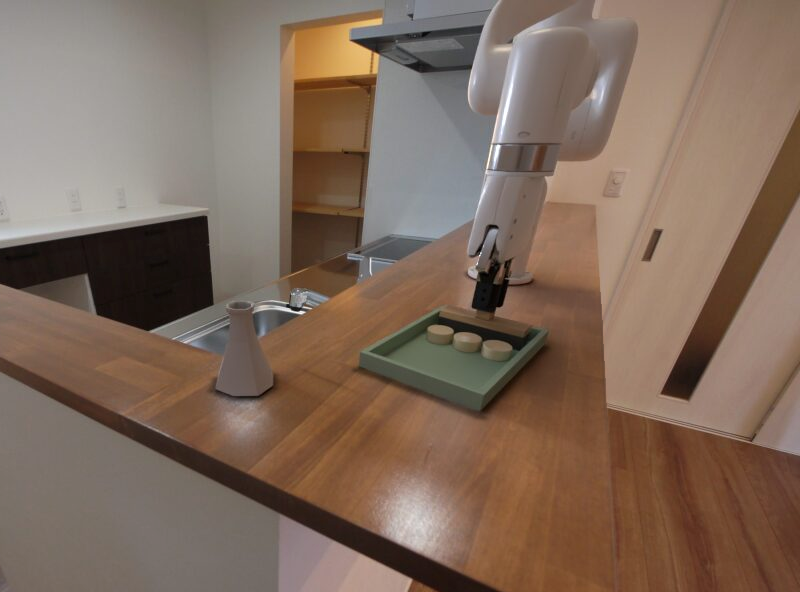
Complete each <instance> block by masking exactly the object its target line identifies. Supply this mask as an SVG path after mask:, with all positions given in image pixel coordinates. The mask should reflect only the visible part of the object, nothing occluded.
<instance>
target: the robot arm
mask: <svg viewBox="0 0 800 592" xmlns="http://www.w3.org/2000/svg"><path fill="white" fill-rule="evenodd" d="M595 4H596V0H498V1H497V2H496V3H495V5H494V6H493V8H492V9H491V10H490V12H489V14H488V16H487V18H486V20H485V23H484V25H483V27H482V30H481V33H480V37H479V40H478V44H477V48H476V51H475V55H474V58H473V59H474V60H473V64H472V68H471V71H470V75H469V81H468V87H467V100H468V101H467V102H468V104H469V107H470V109H471V110H472V111H473V112H474V113H475V114H477V115H479V116H490V117H491V116H493V117H494V116H496V119H495V125H494V128H493V129H494V130H493V134H492V139H491V144H490V149H489V153H488V159H487V163H486V169H485V173H484V174H485V175H487V177H486V179H485V183H484V186H483V188H482V192H481V194H480V198H479V201H478V205H477V209H476V213H475V216H474V219H473V223H472V228H471V232H470V236H469V240H468V244H467V248H466V249H467V250H466V255H467V257H468V258H470V259H474V258H477V257H478V259H477V262H476V264H474V265H471V266H469V268H468V270H467V275H468V276H469V277H471V278H472V279H475V280H476V283H475V286H474V287H475V288H474V291H473V292H474V293H473V296H472V301H471V308H472V309H473V310H481V311H485V312H489V313H493V312H495V313H496V311H497V308H498V309H499V308H500V309H501V308H502V307H504V304H505V299H506V296H507V292H508V288H509V285H523V284H528V283H530V282H531V281H532V279H533V276H534V275H533V273H532V272H531V271H529V270H527V267H528V263H529V259H530V257H531V252H532V248H533V246H534V241H535V238H536V234H537V230H538V227H539V223H540V220H541V216H542V212H543V208H544V204H545V201H546V197H547V194H548V181H547V179H546V177H553V176H554V175H555V171H556V168H557V164H558V162H568V163H569V162H570V163H573V162H577V163H578V162H590V161H592V160H594V159H596V158H598V157H599V156H600V155H601V154H602V153H603V151H604V150H605V147H606V146H607V144H608V142H609V139H610V136H611V133H612V130H613V127H614V124H615V121H616V118H617V114H618V111H619V108H620V105H621V100H622V98H623V94H624V92H625V88H626V85H627V82H628V78H629V75H630V72H631V68H632V65H633V62H634V58H635V54H636V51H637V46H638V42H639V41H638V40H639V25H638V23H637V22H636V20H634V19H633V18H631V17H627V16H614V17H612V16H611V17H603V18H593V12H594V8H595ZM530 28H531V31H527V32H526V33H523V34H521V33H522V32H524V31H526V30H527V29H530ZM519 34H521V35H520V36H519V37H518V38H517V39H516V40H515V41H514V42H512V43H511V42H510V41H511V40H513V39H514V38H515V37H516V36H517V35H519ZM509 42H510V43H509ZM589 96H590V98H588V97H589ZM495 266H496V267H497V268H496V269H495ZM503 268H506V271H505V275H504V279H503V283H502V284H499V283H500V280H501V276H502V272H503Z"/></svg>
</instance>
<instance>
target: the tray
mask: <svg viewBox="0 0 800 592" xmlns="http://www.w3.org/2000/svg"><path fill="white" fill-rule="evenodd" d="M447 306H448V305H445V304H443V305H441V306H440V307H437V308H435V309H434V310H432V311H430V312H429V313H427V314H425V315H423V316H422V317H420V318H418V319H416V320H414V321H413V322H410V323H409V324H407V325H406V326H403V327H402V328H400V329H397V331H394V332H393V333H391V334H389V335H387V336H385V337H384V338H382V339H380V340H379V341H377V342H375V343H373V344H371V345H369V346H368V347H366V348H364V349H362V350H360V351H359V359H358V360H359V361H358V367H360V368H363V369H365V370H367V371H371V372H374V373H376V374H378V375H381V376H384V377H386V378H389V379H392V380H394V381H398V382H400V383H403V384H405V385H408V386H410V387H413V388H416V389H418V390H422V391H425V392H427V393H429V394H432V395H434V396H437V397H440V398H443V399H445V400H448V401H451V402H453V403H456V404H458V405H462V406H465V407H467V408H469V409H472V410H474V411H477V412H481V411H482V410H483V409H484V408H485V407H486V406H487V405H488V404H489V402H491V400H493V398H494V397H495V396H497V394H498V393H499V392H500V391H501V390H502V389H503V388H504V387H505V386H506V385H507V384H508V383H509V382H510V381H511V380H512V379H513V378H514V377H515V376H516V375H517V374H518V372H519V371H520V370H521V369H522V368H523V367H524V366H526V364H527V363H528V362H529V361H530V360H531V359H532V358H533V357H534V356H535V355H536V354H537V353H538V351H540V350H541V348H542V347H544V346H545V344H546V342H547V340H548V337H549V333H550V330H549V329H546V328H542V327H537V326H533V325H532V328H531V331H530V335H529V338H528V341H527V344H526V345H525V346H524V347H523V348H522V349H521V350H520V351H517V350H513V349H512V352H511V356H510V358H509V360H506V361H494V360H490V359H487V358H485V357H483V356H482V355H481V350H482V345H483V343H484V341H482V342H481V346H480V349H479V351H477V352H463V351H459V350H457V349H455V348H454V347H453V346H452V344H453V339H454V335H455V333H453V338H452V342H451V343H448V344H436V343H432V342H430V341H428V340H427V339H426V334H427V329H428V327H429V326H432V325H438V321H439V316H440V310H442V309H444V308H445V307H447Z"/></svg>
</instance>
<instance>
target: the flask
mask: <svg viewBox="0 0 800 592" xmlns="http://www.w3.org/2000/svg"><path fill="white" fill-rule="evenodd" d="M254 310H255V302H254V301H253V302H252V301H250V300H233V301H230V302H228V303H226V306H225V311H226V313H228V318H229V320H228V321H229V328H228V336H227V337H228V338H227V343H226V347H225V351H224V354H223V356H222V357H223V358H222V360H221V365H220V368H219V370H218V371H219V372H218V376H217V380H216V384H215V387H214V388H215V390H217V391H219V392H222V393H224V394H227V395H230V396H232V397H258V396H261V395H262V394H263V393H265V392H266V391H267V390H268V389H270V388H272V387H274V373H273V370H272V368H271V366H270V363H269V361H268V359H267V357H266V355H265V353H264V349H263V348H262V345H261V343H260V341H259V338H258V335H257V333H256V329H255V328H256V327H255V325H254V318H253V312H254Z"/></svg>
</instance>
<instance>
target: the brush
mask: <svg viewBox="0 0 800 592" xmlns="http://www.w3.org/2000/svg"><path fill="white" fill-rule="evenodd" d="M496 268H497V267H496V266H495V269H496ZM505 271H506V268H503V272H502V276H501V280H500V283H499V284H502V283H503V279H504V275H505ZM446 306H447V307H445V308H444V309H442V310H440V316H439V321H438V325H443V326H447V327H450V328H452V329H453V330H454V333H455V334H456V333H460V332H468V333H473V334H476V335H478V336H480V337H481V338H482V341H484V342H485V341H487V340H498V341H503V342H506V343H508V344H510V345H511V346H512V349H513V350H517V351H520V350H521V349H522V348H523V347H524V346H525V345H526V344H527V341H528V338H529V335H530V331H531V328H532V326H533V324H530V323H526V322H522V321H518V320H513V319H509V318H504V317H501V316H496V315H495V314H496V311H495V312H493V313H489V312H485V311H481V310H476V309H475V310H476V311H475V310H471V309H467V308H463V307H459V306H454V305H450V304H449V305H446Z"/></svg>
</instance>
